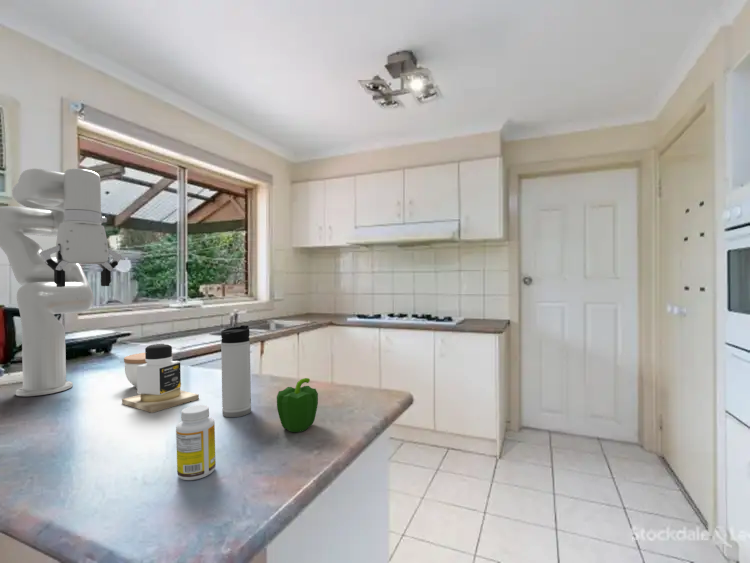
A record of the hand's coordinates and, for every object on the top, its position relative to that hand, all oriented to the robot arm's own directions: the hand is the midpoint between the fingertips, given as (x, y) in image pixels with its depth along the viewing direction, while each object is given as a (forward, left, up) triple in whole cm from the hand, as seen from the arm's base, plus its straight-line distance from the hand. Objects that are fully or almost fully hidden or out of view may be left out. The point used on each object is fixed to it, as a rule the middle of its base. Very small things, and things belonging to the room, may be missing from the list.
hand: (83, 286), depth 98 cm
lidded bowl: (-4, +18, -30) cm, 35 cm away
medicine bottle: (+15, +11, -28) cm, 33 cm away
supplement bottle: (+58, -7, -30) cm, 66 cm away
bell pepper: (+59, +15, -30) cm, 68 cm away
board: (+15, +11, -30) cm, 35 cm away
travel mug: (+40, +15, -30) cm, 52 cm away
